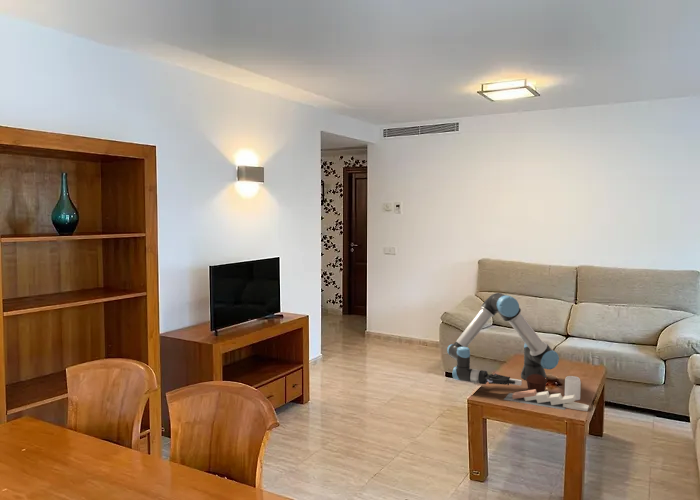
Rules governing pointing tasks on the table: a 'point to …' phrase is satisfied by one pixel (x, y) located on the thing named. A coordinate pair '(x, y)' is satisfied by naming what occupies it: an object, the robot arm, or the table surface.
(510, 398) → the mat
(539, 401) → the domino
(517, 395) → the domino
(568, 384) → the beverage can
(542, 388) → the muffin
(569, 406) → the domino
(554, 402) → the domino
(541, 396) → the domino
